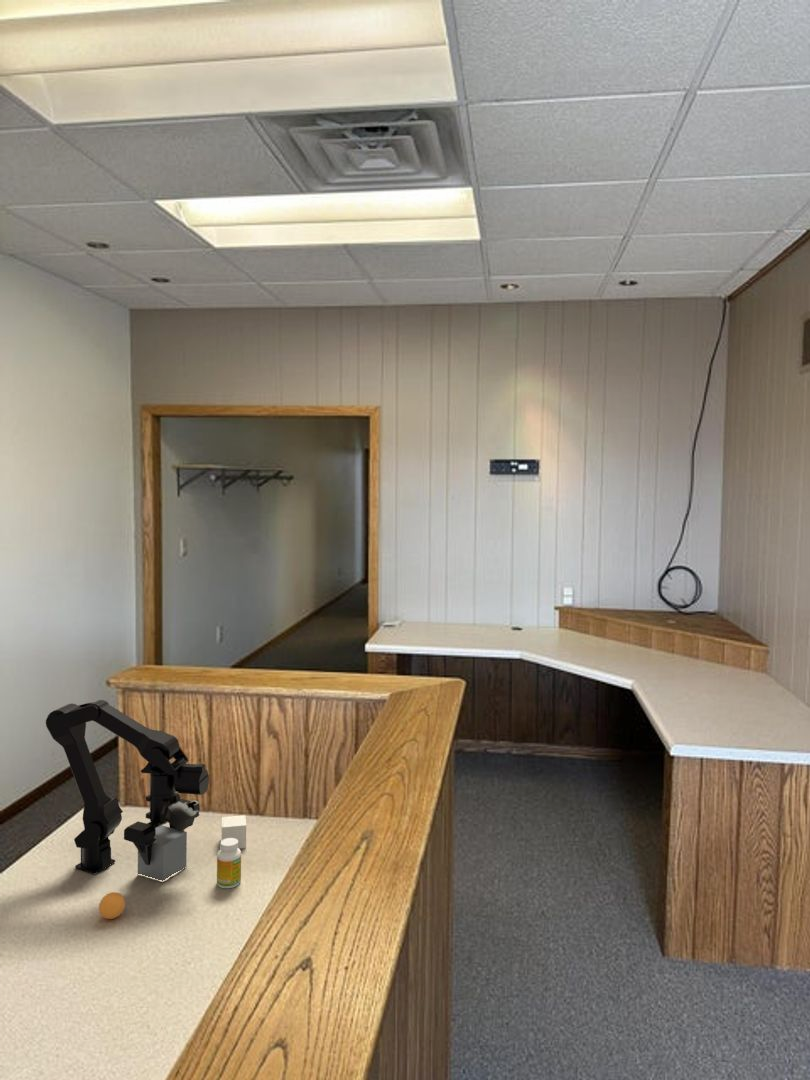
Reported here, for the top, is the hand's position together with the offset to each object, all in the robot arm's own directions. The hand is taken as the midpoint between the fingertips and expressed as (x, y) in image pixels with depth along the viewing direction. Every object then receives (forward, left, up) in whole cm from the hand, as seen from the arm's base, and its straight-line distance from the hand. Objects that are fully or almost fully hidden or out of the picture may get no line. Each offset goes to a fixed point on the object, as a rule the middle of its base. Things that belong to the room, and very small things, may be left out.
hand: (162, 856), depth 170 cm
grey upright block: (0, 0, -4) cm, 4 cm away
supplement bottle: (+17, +3, -4) cm, 18 cm away
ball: (+4, -19, -1) cm, 19 cm away
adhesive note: (+6, +19, -4) cm, 20 cm away
